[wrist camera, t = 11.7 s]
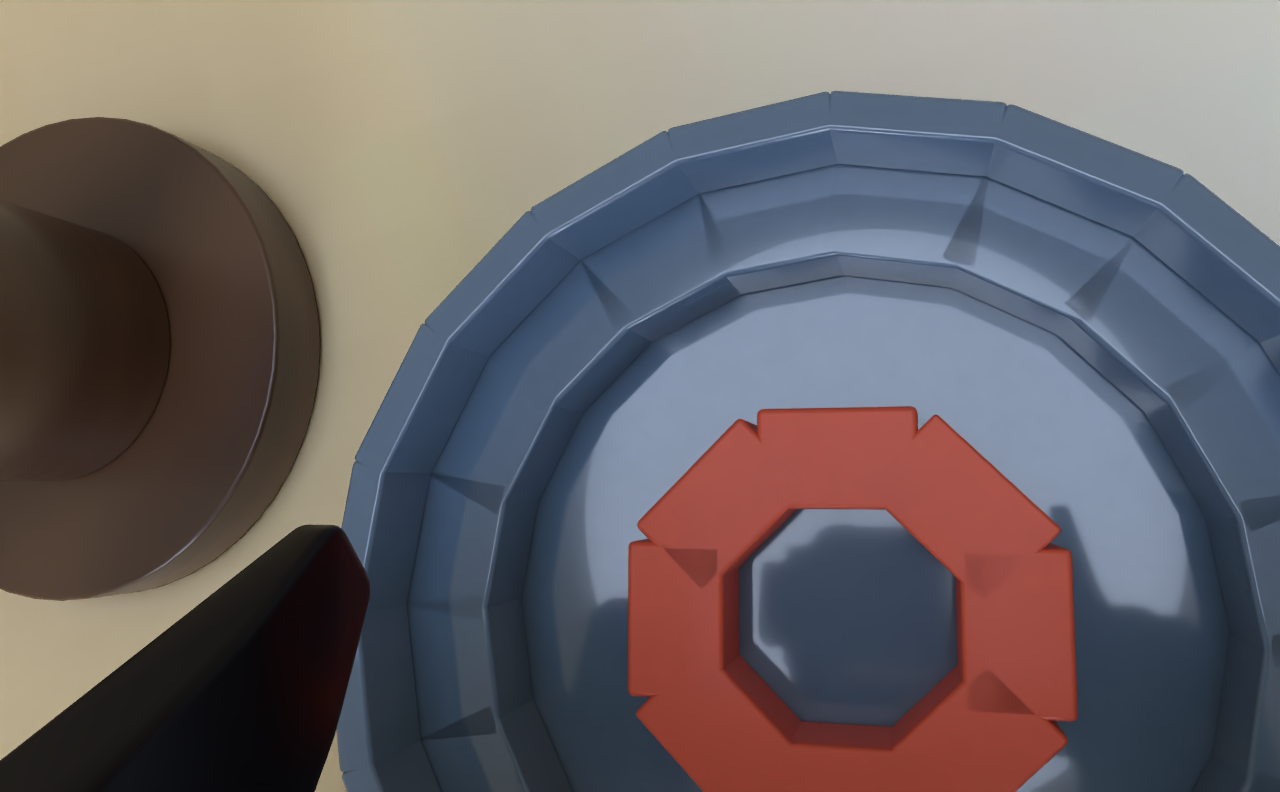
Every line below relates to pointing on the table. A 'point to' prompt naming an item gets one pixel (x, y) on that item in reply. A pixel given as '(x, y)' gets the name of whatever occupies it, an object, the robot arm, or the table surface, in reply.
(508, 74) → the table surface
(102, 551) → the ring stand
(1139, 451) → the dish
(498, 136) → the table surface
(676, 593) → the ring
